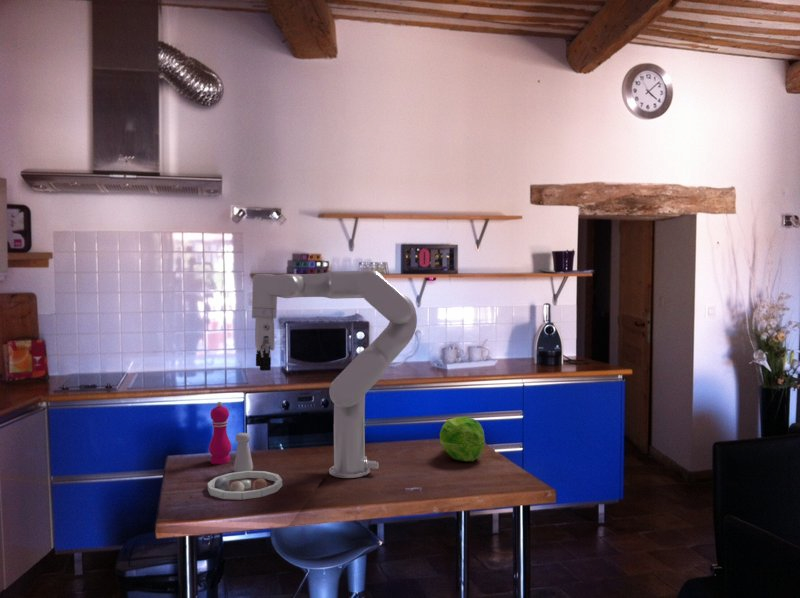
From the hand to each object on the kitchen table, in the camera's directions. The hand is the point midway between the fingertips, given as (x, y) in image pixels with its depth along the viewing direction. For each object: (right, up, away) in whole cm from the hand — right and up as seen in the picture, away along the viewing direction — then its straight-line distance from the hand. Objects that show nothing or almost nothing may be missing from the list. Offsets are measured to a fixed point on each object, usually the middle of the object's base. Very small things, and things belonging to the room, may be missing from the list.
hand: (263, 368), depth 203 cm
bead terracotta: (+2, -31, -22) cm, 39 cm away
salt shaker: (-5, -33, -3) cm, 34 cm away
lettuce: (+63, -32, +18) cm, 73 cm away
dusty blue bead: (-5, -31, -22) cm, 38 cm away
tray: (-1, -33, -18) cm, 38 cm away
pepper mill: (-17, -33, +12) cm, 39 cm away
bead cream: (-2, -32, -24) cm, 40 cm away
